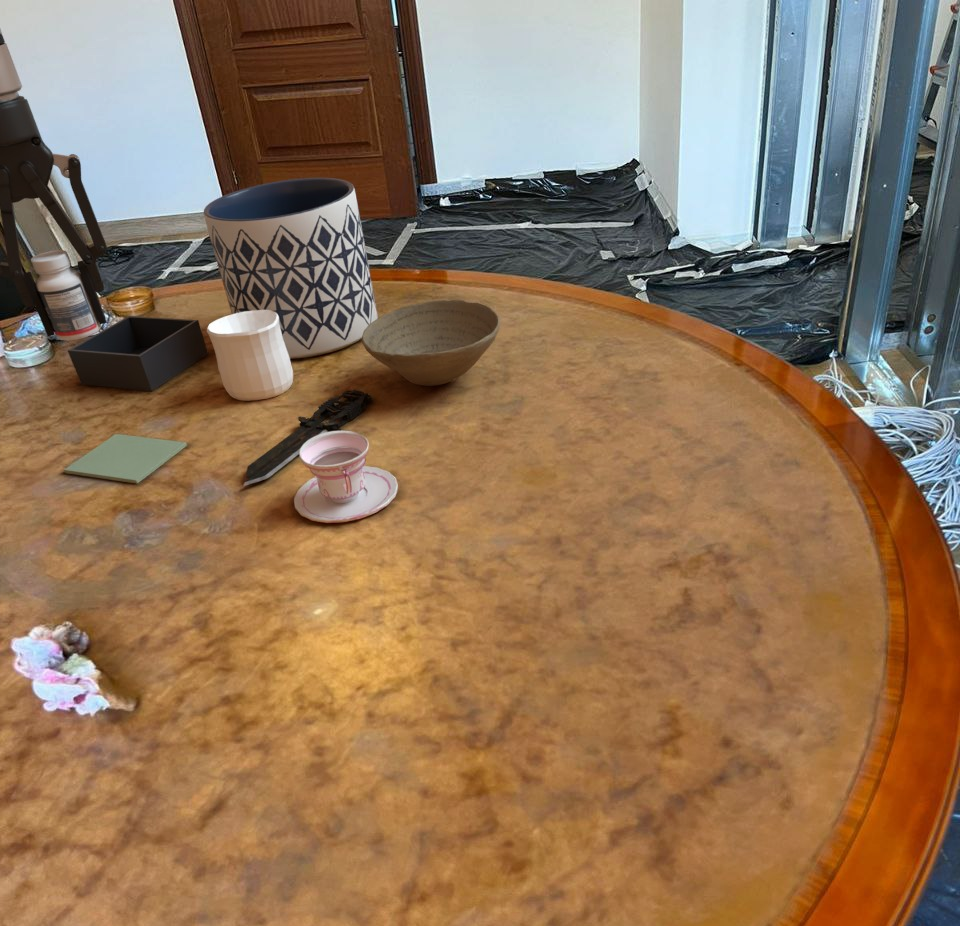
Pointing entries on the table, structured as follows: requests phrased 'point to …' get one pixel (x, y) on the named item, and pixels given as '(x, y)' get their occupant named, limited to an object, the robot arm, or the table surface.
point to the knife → (306, 427)
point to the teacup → (341, 479)
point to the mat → (126, 458)
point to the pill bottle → (64, 296)
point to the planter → (296, 260)
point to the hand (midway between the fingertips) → (76, 325)
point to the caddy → (139, 352)
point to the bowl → (432, 339)
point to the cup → (251, 355)
